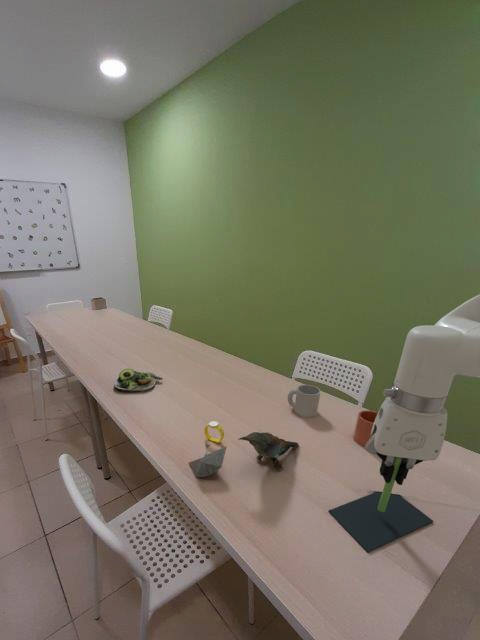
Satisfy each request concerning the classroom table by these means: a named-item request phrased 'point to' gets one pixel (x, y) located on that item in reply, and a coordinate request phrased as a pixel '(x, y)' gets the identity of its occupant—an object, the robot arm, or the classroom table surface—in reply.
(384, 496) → the green square stick
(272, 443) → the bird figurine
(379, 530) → the mat
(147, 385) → the salad plate
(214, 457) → the paper boat
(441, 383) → the robot arm
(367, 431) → the tumbler
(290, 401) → the cup
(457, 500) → the classroom table surface
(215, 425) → the gold diamond ring
